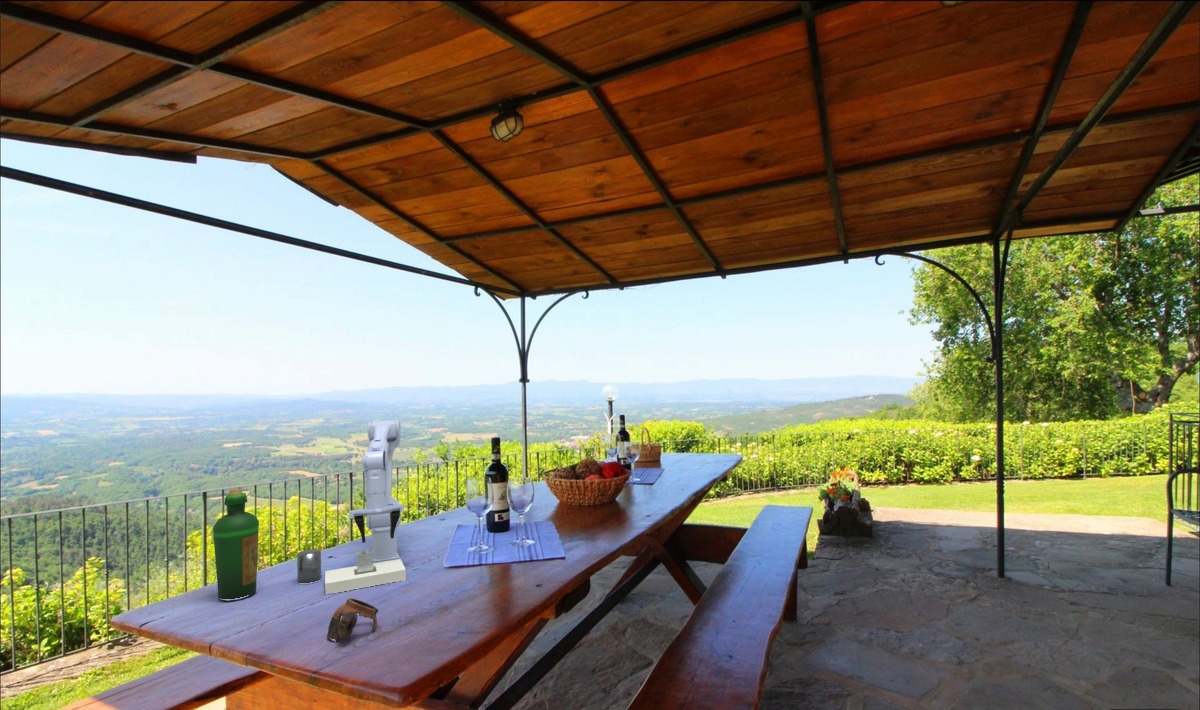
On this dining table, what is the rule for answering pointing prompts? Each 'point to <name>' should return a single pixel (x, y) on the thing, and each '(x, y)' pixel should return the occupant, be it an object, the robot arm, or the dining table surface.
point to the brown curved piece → (350, 618)
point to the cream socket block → (364, 576)
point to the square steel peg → (364, 561)
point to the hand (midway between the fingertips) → (378, 539)
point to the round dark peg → (309, 565)
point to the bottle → (236, 548)
